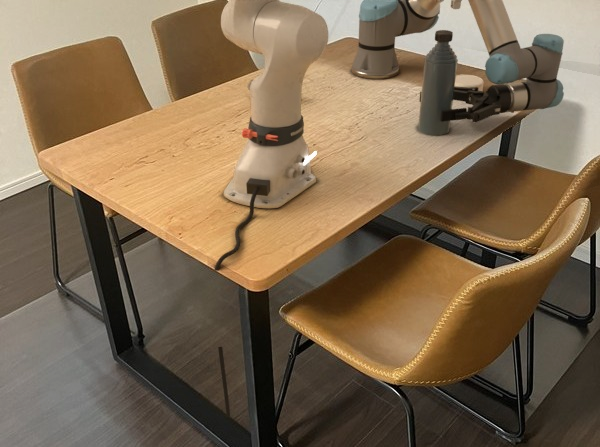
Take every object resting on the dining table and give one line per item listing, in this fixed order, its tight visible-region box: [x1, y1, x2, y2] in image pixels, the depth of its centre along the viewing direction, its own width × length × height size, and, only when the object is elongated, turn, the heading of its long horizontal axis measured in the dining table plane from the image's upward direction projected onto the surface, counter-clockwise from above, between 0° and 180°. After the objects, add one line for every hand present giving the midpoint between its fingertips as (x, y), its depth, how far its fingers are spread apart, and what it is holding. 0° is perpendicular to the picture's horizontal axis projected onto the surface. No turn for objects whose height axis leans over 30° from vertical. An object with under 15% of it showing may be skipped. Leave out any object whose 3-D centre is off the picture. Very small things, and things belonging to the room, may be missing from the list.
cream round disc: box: [455, 74, 485, 92], centre depth 187 cm, size 10×10×4 cm
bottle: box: [417, 41, 459, 136], centre depth 158 cm, size 8×8×25 cm
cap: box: [434, 29, 454, 43], centre depth 152 cm, size 4×4×2 cm
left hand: (447, 4), depth 148 cm, fingers open, 6 cm apart
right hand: (430, 106), depth 161 cm, fingers open, 13 cm apart
